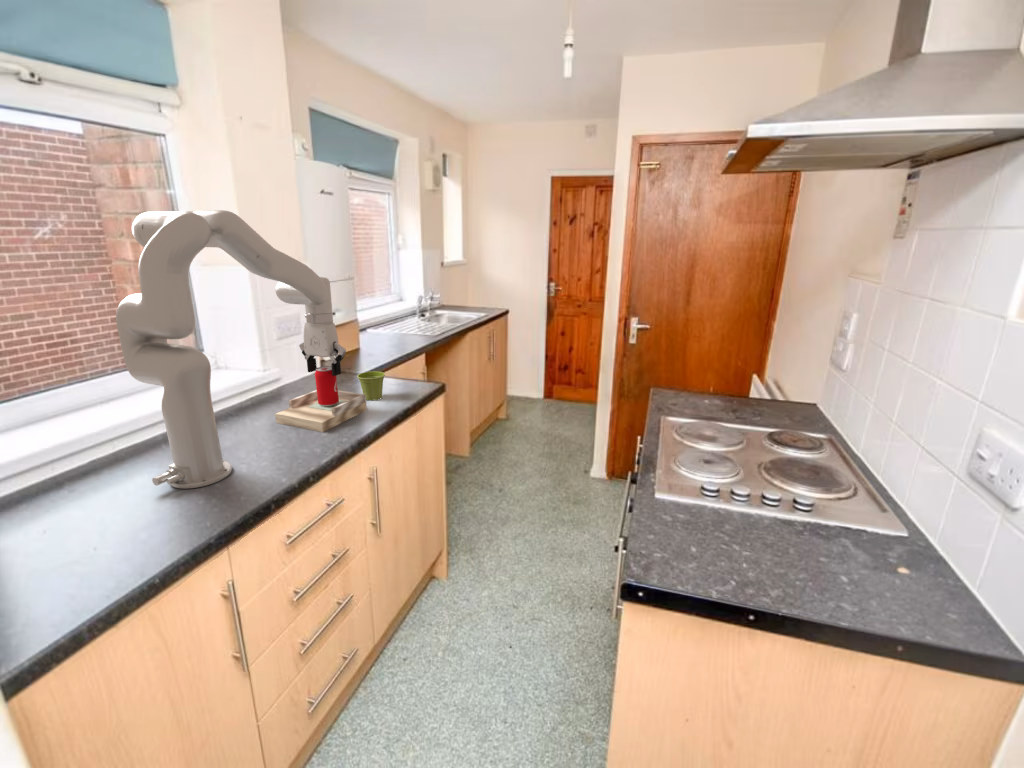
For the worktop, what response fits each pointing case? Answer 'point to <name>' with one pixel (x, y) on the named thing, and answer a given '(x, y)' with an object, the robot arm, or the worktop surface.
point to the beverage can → (326, 386)
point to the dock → (321, 411)
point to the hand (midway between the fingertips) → (324, 373)
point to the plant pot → (372, 384)
